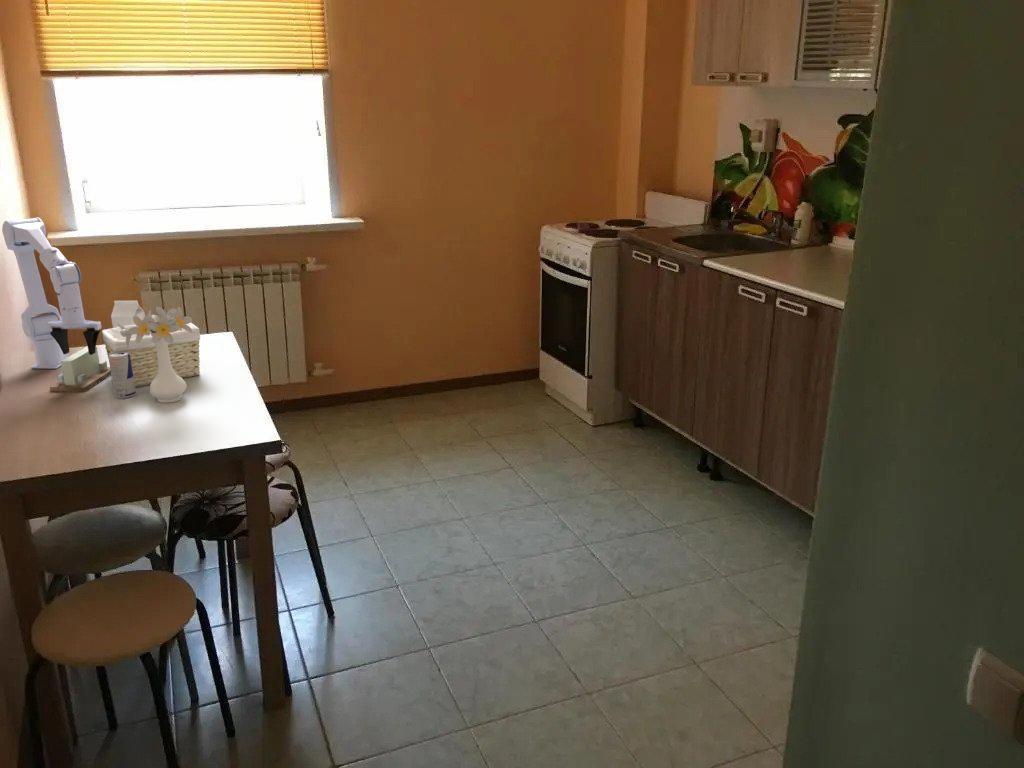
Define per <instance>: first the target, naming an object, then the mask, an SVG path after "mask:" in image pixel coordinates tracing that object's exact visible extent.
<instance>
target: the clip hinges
mask: <svg viewBox="0 0 1024 768" xmlns="http://www.w3.org/2000/svg"><path fill="white" fill-rule="evenodd" d="M98 365H99V371H100V372H104V371H106V370H107V369H108V368H107V367H108V364H107V361H106V360H102V361H99V363H98ZM56 378H57V382H58V384H59V385H63V384H65V382H64V377H63V373H60V374H59V375H57V376H56ZM77 378H78V383H79V385H84V384H85V383H87V377H86V374H81V375H79V376H77Z"/></svg>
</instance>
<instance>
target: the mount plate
mask: <svg viewBox="0 0 1024 768" xmlns="http://www.w3.org/2000/svg"><path fill="white" fill-rule="evenodd" d="M107 368H108V369H107V370H106V371H104V372H100V371H97V372H96V373H94V374H93V375H91V376H89V377H88V378H87V383H85V384H84V385H79V383H78V384H77V385H65V384H63V385H59V384H58V381H57V382H55V383H54V384H52V385H51V386H49V391H50V392H83V391H85V392H87V391H88V390H90V389H91V388H93V387H94V386H96V385H97V384H99V383H100V382H99V381H101V380H102V381H103V379H104V378H105V379H107V378H108V377H109V375H110V374H111V370H110V366H107ZM107 376H108V377H107ZM110 376H111V375H110ZM106 377H107V378H106ZM105 379H104V380H105ZM102 381H101V382H102ZM98 382H99V383H98ZM96 383H97V384H96ZM95 384H96V385H95ZM92 386H93V387H92ZM90 387H91V388H90ZM89 388H90V389H89ZM86 390H87V391H86Z"/></svg>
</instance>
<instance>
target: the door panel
mask: <svg viewBox="0 0 1024 768" xmlns="http://www.w3.org/2000/svg"><path fill="white" fill-rule="evenodd" d="M98 363H100V359H99V352H98V347H97V346H96V350H95V353H94V354H92V355H90V354H89V351H88V346H85V347H84V348H82V349H80V350H78V351H76V352H74V353H73V354H71V355H69V357H67V358H66V359H64V360H62V361H61V366H60V367H61V371H62V374H63V377H64V382H65V385H77V384H78V378H77V376H79V375H81V374H86V377H87V378H88V377H89V376H91V375H93V374H94V373H96V372H97V371H99V365H98Z"/></svg>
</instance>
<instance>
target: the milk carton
mask: <svg viewBox="0 0 1024 768" xmlns="http://www.w3.org/2000/svg"><path fill="white" fill-rule="evenodd" d="M138 301H139V300H113V302H114V303H113V304H114V305H113V309H112V312H111V315H110V318H111V324H112V328H116V327H120V326H119V325H118V323H117V321H118V322H119V323H120V324H122V325H123V326H129V325H135V323H134V321H133V317H134V316H135V315H136V316H138V317H139V318H140V319H141V321H142V320H143V319H144V317H145V316H146V314H145V313H146V312H145V310H144V308H142V307H141V306H140V305H139V302H138Z"/></svg>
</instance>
